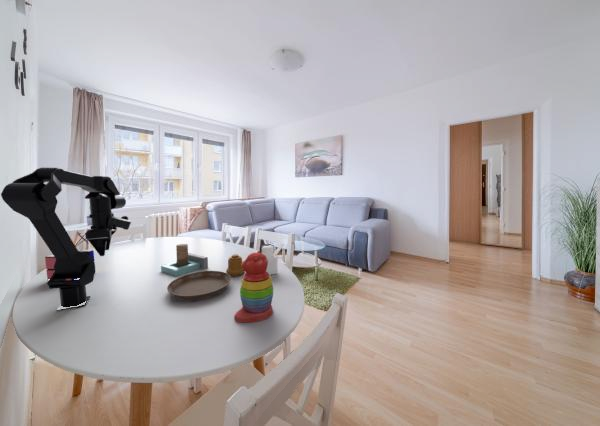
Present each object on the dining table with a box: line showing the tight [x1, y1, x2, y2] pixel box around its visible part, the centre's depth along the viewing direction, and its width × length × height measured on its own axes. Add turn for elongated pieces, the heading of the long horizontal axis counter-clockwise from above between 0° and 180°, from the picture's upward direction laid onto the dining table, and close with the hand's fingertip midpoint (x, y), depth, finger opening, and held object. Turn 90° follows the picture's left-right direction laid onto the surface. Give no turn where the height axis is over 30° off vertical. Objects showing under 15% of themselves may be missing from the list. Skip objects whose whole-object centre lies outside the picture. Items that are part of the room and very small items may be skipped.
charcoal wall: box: [188, 252, 209, 270], centre depth 106 cm, size 2×16×5 cm, turn 60°
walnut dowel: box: [175, 243, 189, 268], centre depth 101 cm, size 4×4×11 cm
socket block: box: [160, 260, 201, 277], centre depth 101 cm, size 11×11×2 cm
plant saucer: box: [166, 270, 232, 301], centre depth 81 cm, size 21×21×3 cm
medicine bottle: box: [259, 243, 278, 276], centre depth 98 cm, size 7×7×12 cm
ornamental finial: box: [225, 253, 245, 277], centre depth 97 cm, size 8×8×8 cm
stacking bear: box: [234, 250, 274, 323], centre depth 65 cm, size 11×10×18 cm
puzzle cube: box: [44, 249, 96, 280], centre depth 92 cm, size 10×10×10 cm
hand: (104, 252), depth 84 cm, fingers open, 9 cm apart
